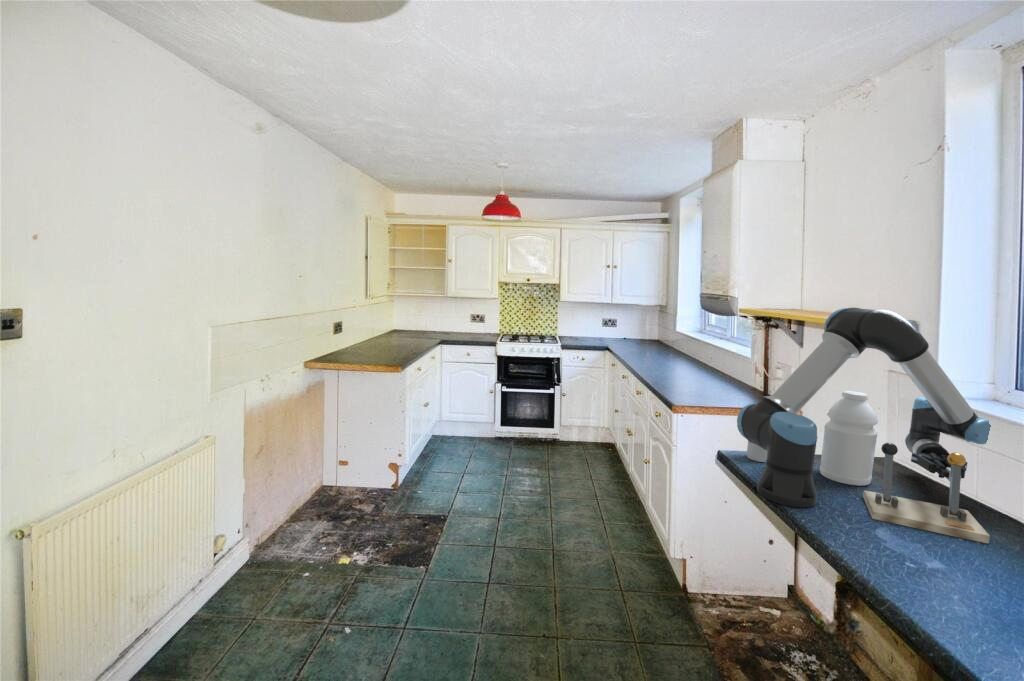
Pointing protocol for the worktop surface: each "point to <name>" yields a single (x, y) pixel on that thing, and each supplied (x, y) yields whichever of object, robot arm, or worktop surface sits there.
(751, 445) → the milk bottle
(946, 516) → the switch board
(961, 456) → the orange knob lever
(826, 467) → the bottle
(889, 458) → the black knob lever
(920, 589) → the worktop surface
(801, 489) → the robot arm
